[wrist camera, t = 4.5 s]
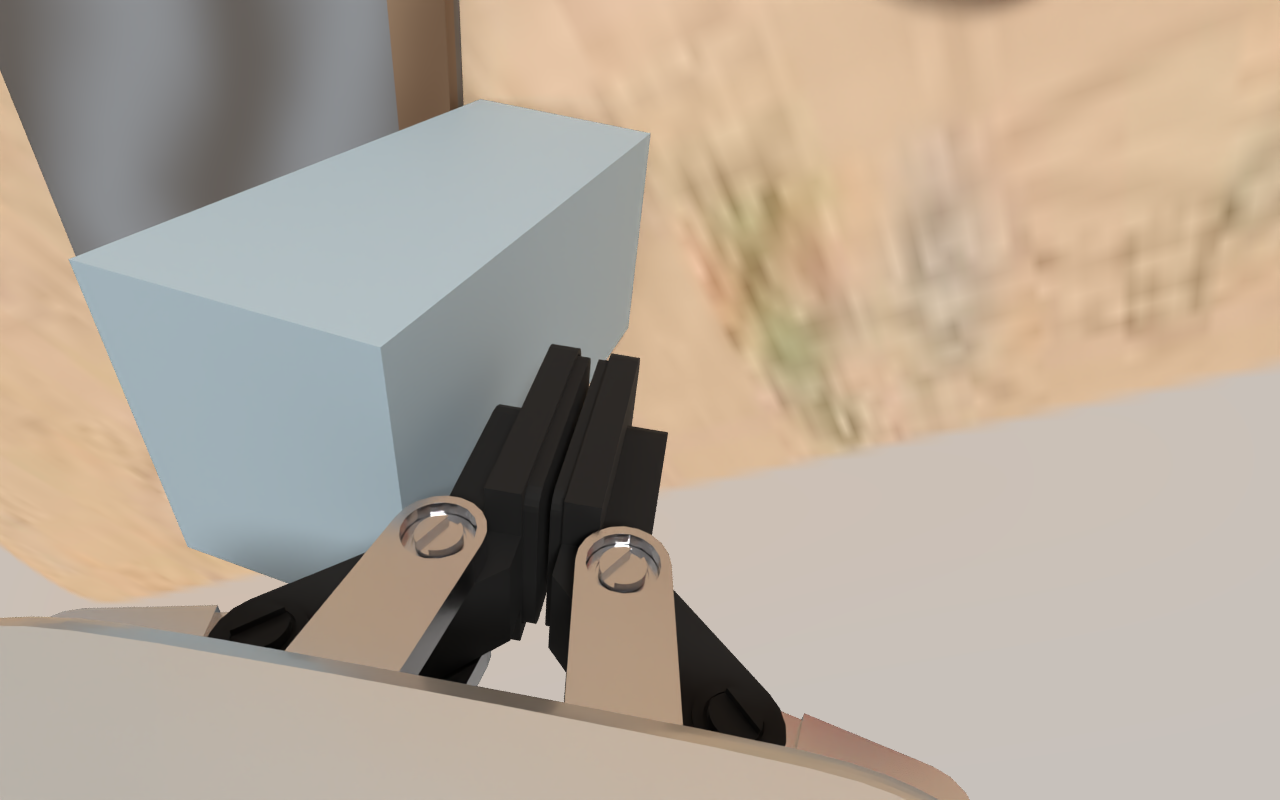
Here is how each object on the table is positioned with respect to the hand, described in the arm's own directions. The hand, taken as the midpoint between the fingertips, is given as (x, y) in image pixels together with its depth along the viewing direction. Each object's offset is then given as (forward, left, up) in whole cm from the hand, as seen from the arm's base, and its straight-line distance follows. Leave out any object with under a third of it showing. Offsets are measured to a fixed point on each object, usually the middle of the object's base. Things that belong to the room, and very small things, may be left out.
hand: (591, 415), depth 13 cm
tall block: (+3, 0, -9) cm, 9 cm away
